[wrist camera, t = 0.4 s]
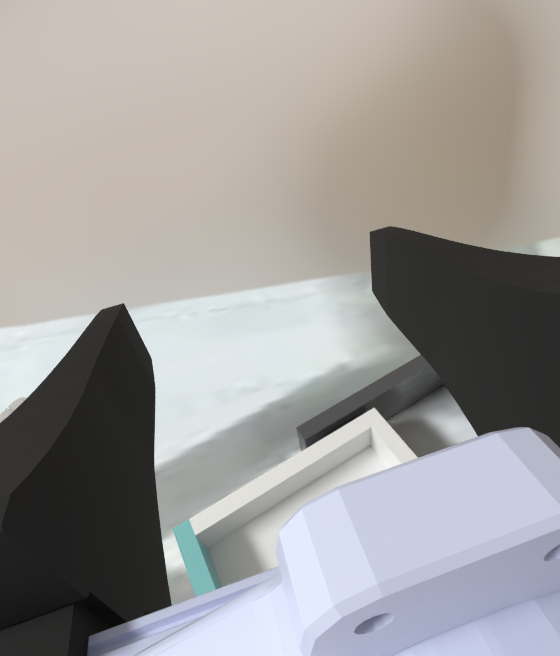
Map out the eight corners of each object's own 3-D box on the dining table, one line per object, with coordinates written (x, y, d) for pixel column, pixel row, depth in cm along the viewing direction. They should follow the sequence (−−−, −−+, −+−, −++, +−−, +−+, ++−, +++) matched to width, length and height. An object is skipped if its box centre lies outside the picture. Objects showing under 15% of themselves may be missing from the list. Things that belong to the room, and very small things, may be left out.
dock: (702, 569, 21) (756, 548, 19) (500, 760, 18) (528, 771, 15) (458, 361, 32) (468, 327, 29) (302, 455, 29) (296, 427, 26)
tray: (553, 652, 20) (581, 645, 17) (309, 870, 17) (301, 901, 14) (372, 433, 29) (374, 407, 26) (191, 546, 26) (172, 528, 23)
